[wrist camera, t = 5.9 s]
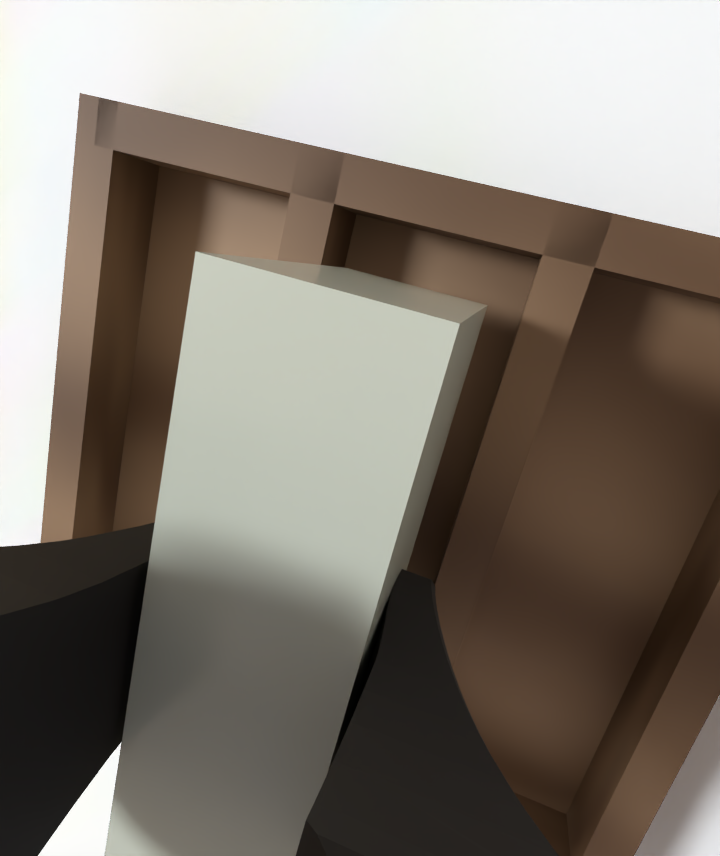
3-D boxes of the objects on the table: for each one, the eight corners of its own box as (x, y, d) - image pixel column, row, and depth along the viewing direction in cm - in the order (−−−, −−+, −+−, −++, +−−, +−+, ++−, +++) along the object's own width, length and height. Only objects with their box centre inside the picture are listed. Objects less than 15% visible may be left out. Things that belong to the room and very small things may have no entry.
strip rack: (587, 835, 17) (598, 921, 14) (85, 622, 20) (29, 665, 18) (857, 286, 12) (936, 286, 10) (144, 121, 15) (80, 93, 13)
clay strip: (348, 760, 15) (246, 1049, 9) (244, 716, 15) (88, 962, 10) (487, 305, 11) (459, 323, 6) (347, 268, 12) (196, 251, 6)
